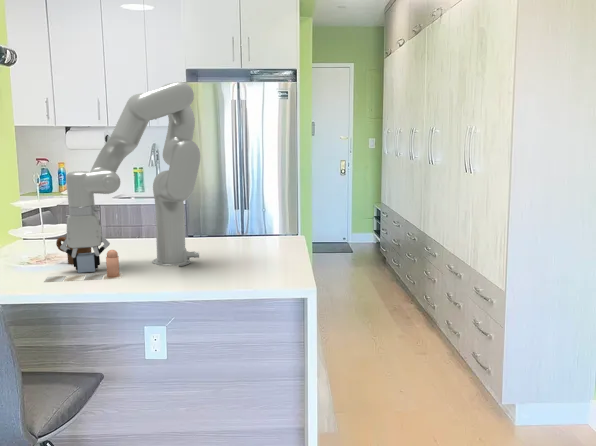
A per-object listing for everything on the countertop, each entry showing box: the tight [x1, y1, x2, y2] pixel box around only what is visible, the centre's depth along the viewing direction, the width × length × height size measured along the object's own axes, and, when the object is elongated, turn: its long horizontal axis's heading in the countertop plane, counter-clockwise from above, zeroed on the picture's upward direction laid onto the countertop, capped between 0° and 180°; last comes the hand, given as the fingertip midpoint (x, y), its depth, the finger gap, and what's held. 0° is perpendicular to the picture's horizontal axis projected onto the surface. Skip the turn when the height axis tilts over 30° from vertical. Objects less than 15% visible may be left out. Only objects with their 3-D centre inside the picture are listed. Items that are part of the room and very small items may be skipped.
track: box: [43, 272, 123, 283], centre depth 170 cm, size 22×7×1 cm, turn 104°
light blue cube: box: [77, 251, 97, 274], centre depth 177 cm, size 5×5×5 cm
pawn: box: [105, 249, 120, 278], centre depth 171 cm, size 4×4×8 cm
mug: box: [55, 236, 93, 266], centre depth 189 cm, size 12×8×9 cm, turn 80°
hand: (87, 267), depth 177 cm, fingers closed on light blue cube, 4 cm apart
